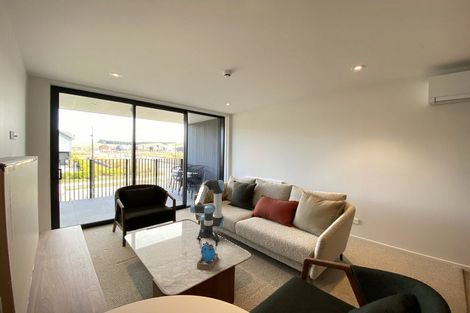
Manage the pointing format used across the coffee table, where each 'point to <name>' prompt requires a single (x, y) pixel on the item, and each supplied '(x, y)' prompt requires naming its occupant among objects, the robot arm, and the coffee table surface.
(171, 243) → the coffee table surface
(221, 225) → the robot arm
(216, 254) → the open rectangular wooden box
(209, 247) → the alarm clock
